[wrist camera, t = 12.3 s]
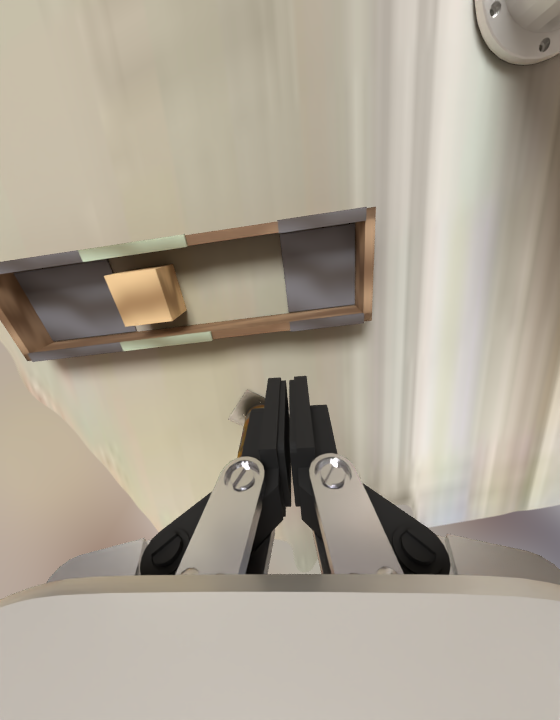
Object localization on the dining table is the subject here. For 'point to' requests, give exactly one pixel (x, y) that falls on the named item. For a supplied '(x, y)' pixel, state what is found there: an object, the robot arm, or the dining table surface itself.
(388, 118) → the dining table surface
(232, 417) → the condiment
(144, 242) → the box
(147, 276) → the block
